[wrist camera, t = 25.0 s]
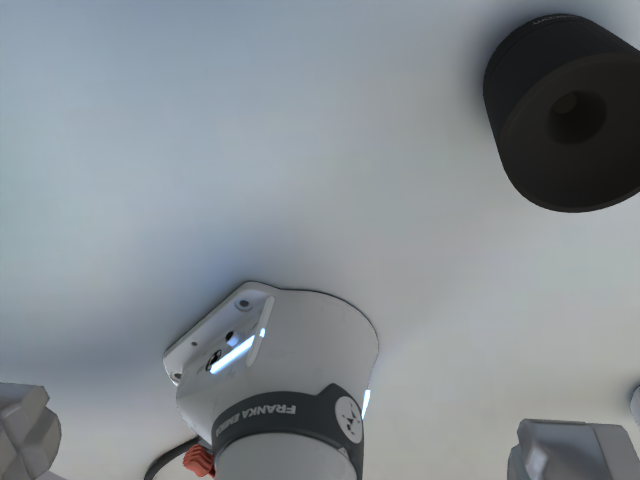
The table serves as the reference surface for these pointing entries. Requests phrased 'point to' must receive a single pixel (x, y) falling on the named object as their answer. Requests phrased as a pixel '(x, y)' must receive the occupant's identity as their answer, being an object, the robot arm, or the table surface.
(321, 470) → the robot arm
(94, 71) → the table surface
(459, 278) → the table surface
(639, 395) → the energy drink can
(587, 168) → the black bluetooth speaker
